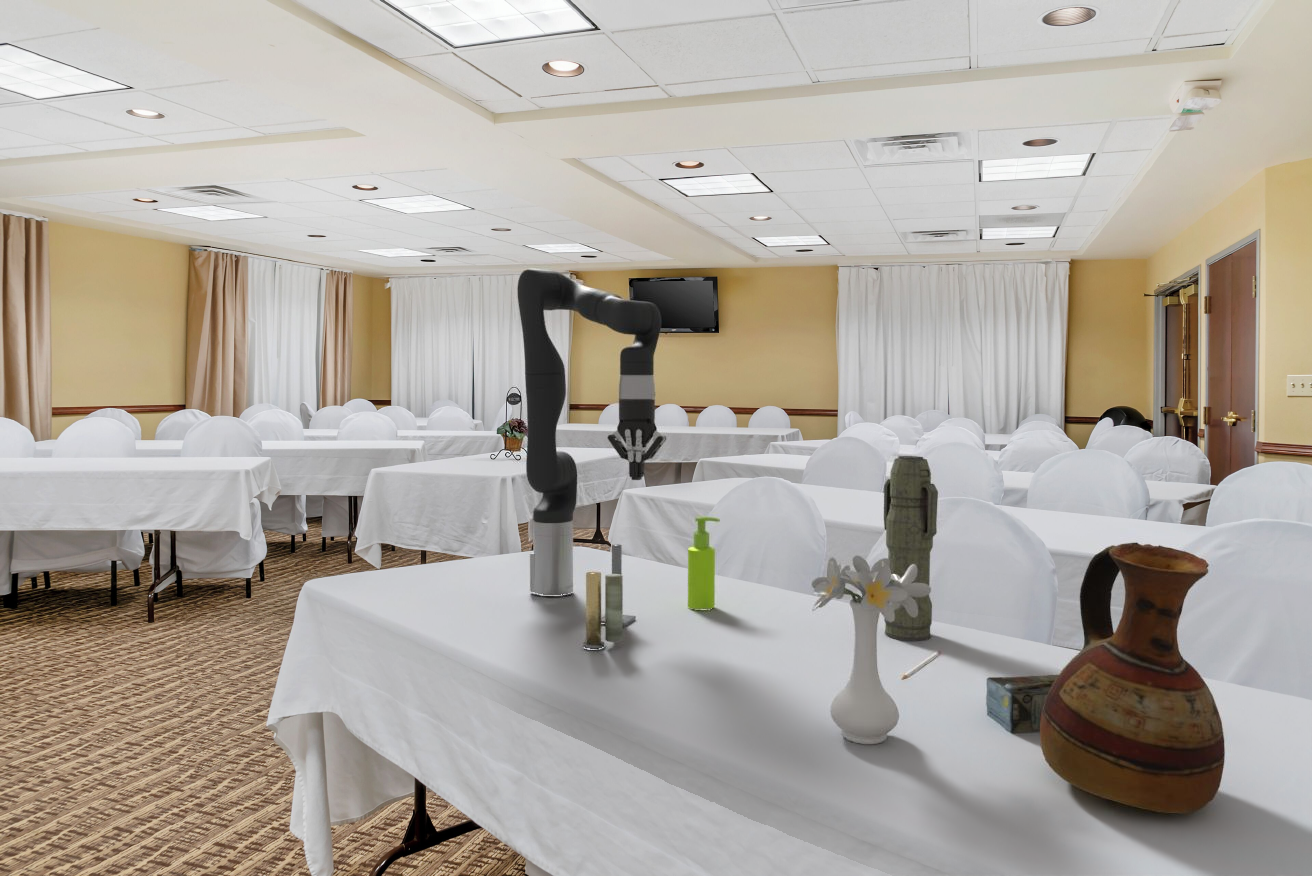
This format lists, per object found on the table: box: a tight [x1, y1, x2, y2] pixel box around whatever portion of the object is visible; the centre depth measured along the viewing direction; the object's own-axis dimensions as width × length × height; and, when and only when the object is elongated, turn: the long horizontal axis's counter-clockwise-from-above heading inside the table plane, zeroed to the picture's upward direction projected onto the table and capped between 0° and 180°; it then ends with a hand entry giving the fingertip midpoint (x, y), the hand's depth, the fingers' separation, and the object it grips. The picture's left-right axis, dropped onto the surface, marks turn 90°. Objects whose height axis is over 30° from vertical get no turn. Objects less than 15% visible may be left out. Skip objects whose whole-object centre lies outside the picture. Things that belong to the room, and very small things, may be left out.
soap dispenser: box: [687, 516, 721, 610], centre depth 196 cm, size 6×7×20 cm
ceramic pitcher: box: [1039, 542, 1226, 814], centre depth 107 cm, size 20×20×30 cm
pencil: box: [901, 650, 942, 680], centre depth 156 cm, size 1×19×1 cm, turn 144°
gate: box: [604, 573, 624, 643], centre depth 173 cm, size 17×3×12 cm, turn 1°
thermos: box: [883, 455, 939, 642], centre depth 174 cm, size 9×12×35 cm
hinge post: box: [601, 543, 637, 627], centre depth 184 cm, size 6×6×16 cm
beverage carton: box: [985, 674, 1059, 734], centre depth 130 cm, size 8×19×7 cm, turn 96°
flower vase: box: [811, 555, 932, 745], centre depth 124 cm, size 13×18×25 cm
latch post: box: [582, 571, 605, 649], centre depth 166 cm, size 4×4×14 cm
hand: (636, 479), depth 187 cm, fingers closed
